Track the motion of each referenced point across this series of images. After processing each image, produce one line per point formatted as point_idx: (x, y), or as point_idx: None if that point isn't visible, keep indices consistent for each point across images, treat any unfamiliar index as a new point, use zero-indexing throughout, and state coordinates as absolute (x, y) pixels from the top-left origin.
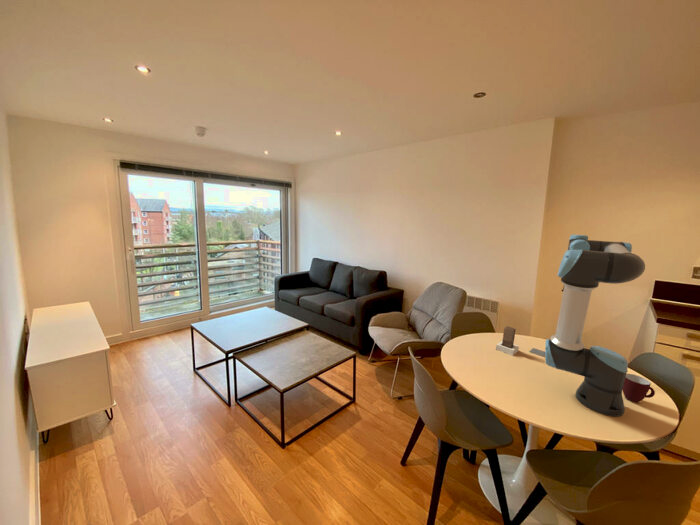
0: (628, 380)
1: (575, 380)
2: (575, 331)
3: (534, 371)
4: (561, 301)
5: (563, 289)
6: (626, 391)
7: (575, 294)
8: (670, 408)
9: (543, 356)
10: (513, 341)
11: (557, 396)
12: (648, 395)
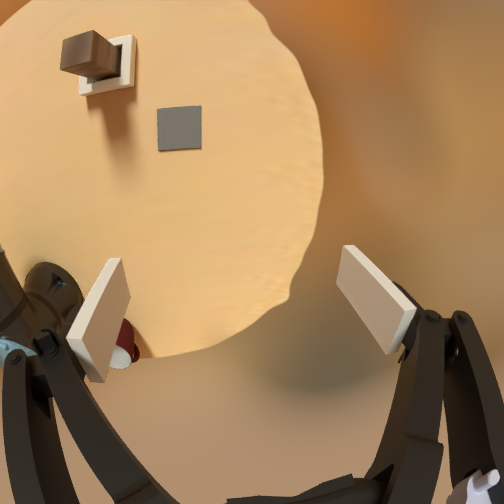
0: None
1: (94, 247)
2: None
3: (50, 175)
4: (104, 266)
5: (8, 367)
6: None
7: None
8: (155, 357)
9: (158, 150)
10: (106, 71)
11: (13, 243)
12: (134, 348)
